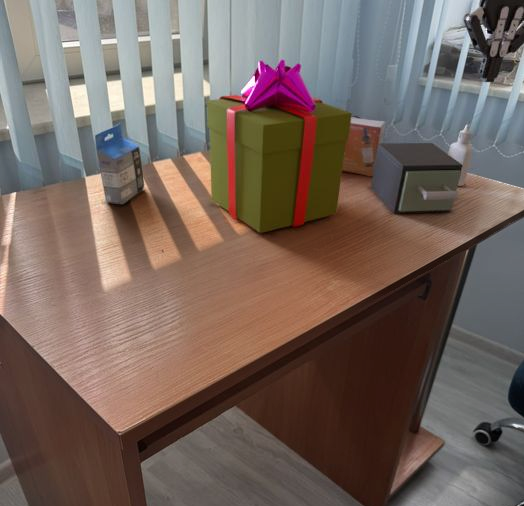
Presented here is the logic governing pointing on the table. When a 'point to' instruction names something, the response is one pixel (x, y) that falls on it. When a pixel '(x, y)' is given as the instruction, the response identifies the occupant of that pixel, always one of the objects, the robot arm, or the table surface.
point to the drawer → (429, 190)
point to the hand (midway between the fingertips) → (486, 81)
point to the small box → (362, 145)
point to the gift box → (276, 151)
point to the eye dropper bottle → (462, 152)
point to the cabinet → (405, 168)
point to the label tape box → (119, 166)
